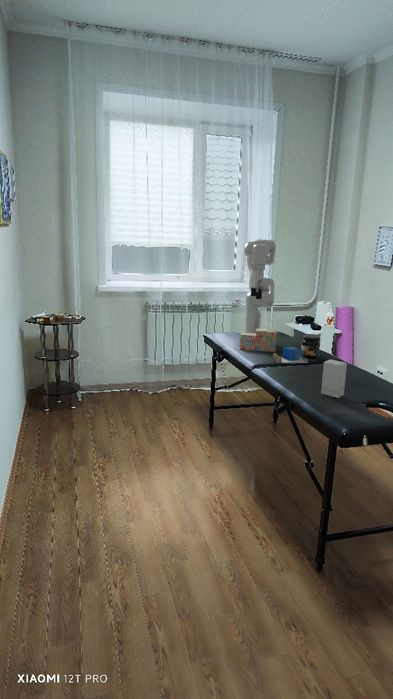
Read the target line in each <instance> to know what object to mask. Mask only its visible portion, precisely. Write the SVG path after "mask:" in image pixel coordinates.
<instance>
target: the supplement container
mask: <svg viewBox="0 0 393 699" xmlns="http://www.w3.org/2000/svg"><path fill="white" fill-rule="evenodd" d="M320 340H321V336H319V335H317V334H311V333H308V334H303V335H302V340H301V346H300V350H305V351H306V354H305V355H303V357H304V358H306V359H317V358H318V357H319V356H320V347H321V342H320Z"/></svg>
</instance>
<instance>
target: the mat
mask: <svg viewBox="0 0 393 699" xmlns="http://www.w3.org/2000/svg"><path fill="white" fill-rule="evenodd" d="M281 358H282V357H281ZM280 364H309V359H308V358H306V357H303V356H301V358H300V359H299V360H294V361H288V360H286V359H284V358H282V360H281V363H280Z"/></svg>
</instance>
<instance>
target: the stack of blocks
mask: <svg viewBox="0 0 393 699" xmlns="http://www.w3.org/2000/svg"><path fill="white" fill-rule="evenodd" d="M239 337H240V338H239V350H242V351H252V352H253V351H255V352H256V351H257V352H258V351H259V352H268V351H269V353H276V352H277V343H278V331H277V330H276V329H268V328H260V329H256V334H255V333H245V332H240V336H239Z"/></svg>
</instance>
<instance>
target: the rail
mask: <svg viewBox="0 0 393 699" xmlns="http://www.w3.org/2000/svg"><path fill="white" fill-rule="evenodd" d="M272 353H273V354H272V359H273V360H275V362H277V363H278V364H282V363H281V360H282V356H280V355H278V354H277V353H276V352H272Z"/></svg>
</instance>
